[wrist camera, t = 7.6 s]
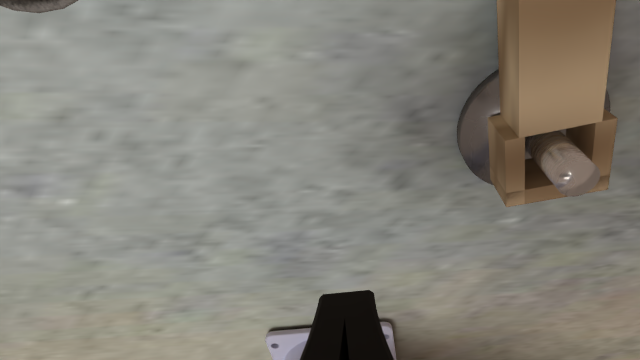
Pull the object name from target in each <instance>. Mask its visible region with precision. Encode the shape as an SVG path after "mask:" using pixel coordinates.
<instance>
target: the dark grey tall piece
mask: <svg viewBox="0 0 640 360" xmlns="http://www.w3.org/2000/svg"><path fill="white" fill-rule="evenodd" d="M76 1H78V0H0V6H3V7H6V8H9V9H11V10H15V11H25V12H34V13H42V12H48V11H53V10H59V9H64V8H66V7H67V6H69V5H71V4H73V3H74V2H76Z"/></svg>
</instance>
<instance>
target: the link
mask: <svg viewBox="0 0 640 360" xmlns="http://www.w3.org/2000/svg"><path fill="white" fill-rule="evenodd" d="M615 5H616V0H497V24H498V58H499V92H500V115H497V116H492V117H487V118H488V139H489V160H490V179H491V181H492V183H493V185H494V186H495V188H496V190H497V192H498V193H499V195H500V197H501V198H502V200H503V202H504V204H505V205H506V207H510V206H516V205H521V204H527V203H533V202H538V201H544V200H550V199H556V198H561V197H567V196H566V195H563V194H562V193H560V192H559V191H558V189H557V188H556V187H555V186H554V184H553V183H552V182H551V181H550V179H549V178H548V177H547V176H546V174H545V173H544V172H543V171H542V169H541V168H540V167H539V166H538V165H537V163H536V162H535V161H534V160H533V158H530V159H525V137H527V136H532V135H537V134H542V133H547V132H552V131H557V130H562V129H566V137H567V138H568V139H569V140H570V141H571V142H572V143H573V144H574V145H575V146H576V147H577V148H578V149H579V150H581V151H582V152H583V153H584V154H585V155H586V156H587V157H588V158H589V159H590V160H591V161H592V162H593V163H594V164H595V165H596V166H597V167H598V168H599V170H600V179H599V181H598V183H597V184H596V185H595V187H594V188H592V189H591V190H590V191H588V192H587V193H590V192H596V191H602V190H607V189H608V185H609V177H610V170H611V163H612V155H613V148H614V141H615V133H616V126H617V119H618V118H616V117H615V116H614V115H612V114H611V113H609V112H608V111H607V110H605V109H604V101H605V92H606V84H607V75H608V66H609V57H610V49H611V40H612V31H613V23H614V14H615Z"/></svg>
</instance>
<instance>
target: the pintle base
mask: <svg viewBox="0 0 640 360" xmlns="http://www.w3.org/2000/svg"><path fill="white" fill-rule="evenodd" d="M604 109H605V110H607V111H608V112H609V113H610V101H609V96H608V93H607V90H606V92H605V101H604ZM497 115H500V92H499V70H497V71H495V72H494V73H492V74H491V75H490V76H489V77H487V78H486V79H485V80H484V81H483V82H482V83H481V84H480V85H479V86H478V87H477V88H476V89H475V90H474V91H473V93H472V94H471V95H470V97H469V98H468V100H467V101H466V103H465V105H464V107H463V109H462V112H461V114H460V117H459V121H458V126H457V142H458V146H459V149H460V152H461V154H462V156H463V158H464V160H465V162H466V164H467V165H468V167H469V168H470V170H471V171H472V172H473V173H474V174H475V175H476V176H478V177H479V178H480V179H482V180H484V181H485V182H487V183H490V184H492V185H493V183H492V181H491V179H490V160H489V139H488V118H487V117H492V116H497ZM530 158H533V160H534V161H535V162H536V163H537V165H538V166H539V167H540V168H541V169H542V171H543V172H544V173H545V174H546V176H547V177H548V178H549V179H550V181H551V182H552V183H553V184H554V186H555V187H556V188H557V189H558V191H559V192H560V193H562V194H563V195H566V196H579V195H582V194H585V193H587V192H588V191H590V190H591V189H592V188H594V187H595V185H596V184H597V183H598V181H599V179H600V170H599V168H598V167H597V166H596V165H595V164H594V163H593V162H592V161H591V160H590V159H589V158H588V157H587V156H586V155H585V154H584V153H583V152H582V151H581V150H579V149H578V148H577V147H576V146H575V145H574V144H573V143H572V142H571V141H570V140H569V139H568V138H567V137H566V129H562V130H557V131H552V132H547V133H542V134H537V135H532V136H527V137H525V159H530Z"/></svg>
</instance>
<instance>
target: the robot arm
mask: <svg viewBox="0 0 640 360" xmlns="http://www.w3.org/2000/svg"><path fill="white" fill-rule="evenodd" d="M265 340H266V343H267V346H268V348H269V351H270V353H271V356H272V358H273V360H396V352H395V345H394V338H393V330H392V325H391V324H390V323H388V322H380V321H379V317H378V314H377V310H376V304H375V298H374V293H373V292H371V291H370V290H365V291H354V292H344V293H334V294H323V295H322V296H321V297H320V298H319V303H318V307H317V311H316V314H315V318H314V321H313V324H312V327H311V328H304V329H292V330H281V331H271V332H268V333H267V334H266V339H265Z"/></svg>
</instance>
